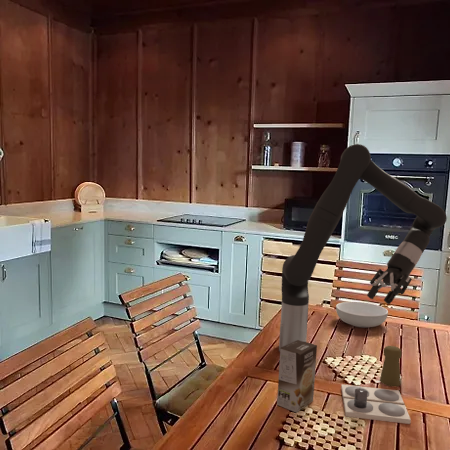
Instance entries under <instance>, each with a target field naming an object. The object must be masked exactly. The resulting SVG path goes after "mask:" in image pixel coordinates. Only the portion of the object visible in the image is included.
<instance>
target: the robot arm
mask: <svg viewBox="0 0 450 450" xmlns="http://www.w3.org/2000/svg"><path fill="white" fill-rule="evenodd" d="M360 179H361V180H362V181H365V182H366V183H367V184H369V185H370V186H371V187H373V188H374V189H375V190H377V191H378V192H379V193H380V194H381V195H383V196H384V197H385V198H386V199H388V201H390V202H391V203H392V204H394V206H396V207H398V208H399V209H401V211H402V212H404V213H407V214H414V215H415V216H416V217H415V219H414V220H413V222H412V225H411V227H410V230H409V232H408V233H407V234H406V236H405V237H404V239H403V240H402V242H401V243H400V244H399V245H398V246H397V248H396V249H395V251H394V253H393V254H392V255H391V257H390V258H389V260H388V261H387V264H386V266H387V269H386V270H385V271H384V270H382V269H381V268H379V269H377V271H376V273H375V274H374V276H373V277H372V279H371V280H370V281H369V283H370V285H371V288H370V289H369V291H368V292H367V297H368V298H369V299H371V300H373V299H374V298H375V296H376V295H377V294H378V292H379V291H380V290H381V289H382V288H385V287H389V286H390V290H388V293H387V294H386V296H385V297H384V299H383V301H384V302H385V303H386V304H387V305H390V304H391V303H393V300H394V299H395V298H396V296H399V295H403V294H404V293H405V292H406V290H407V289H408V287H409V285H410V283H411V282H412V281H413V279H412V278H411V276H410V274H411V273H412V272H413V270H414V269H415V267H416V265H417V264H418V263H419V261H420V260H421V256H422V255H423V253H424V251H426V249H427V247H428V246H429V243H430V241H431V239H430V236H431V234H432V233H433V232H434V230H436V229H439V228H441V227H443V226H445V224H446V223H447V217H448V216H447V214H446V211H445V210H444V209H443V208H442V207H441V206H440V205H438V204H436V203H434V201H430V200H429V199H427V198H425V197H422V196H420V195H419V194H418V193H416V192H415V190H414V189H412V188H410V187H409V186H408V185H406V184H405V183H403V182H402V181H401V180H399V179H398V178H396V177H394V176H392V175H391V174H388V172H385V171H384V170H383V169H382V168H381V167H379V166H378V165H377V164H376V163H375V162H374V161H373V160H372V158H371V152H370V150H369V148H368V147H366V145H364V144H359V143H356V144H355V143H354V144H352V145H349V146H348V147H346V148H345V149H344V151H343V152H342V153H341V155H340V162H339V165H338V166H337V169H336V172H335V174H334V176H333V178H332V180H331V182H330V183H329V184H328V186H327V187H326V188H325V189H324V191H323V193H322V195H320V198H319V199H318V201H317V202H316V204H315V206H314V207H313V210H312V212H311V214H310V215H309V218H308V220H307V224H306V228H305V231H304V235H303V238H302V241H301V244H300V246H299V247H298V249H297V251H296V252H295V254H294V255H290V256H289V257H287V258H286V259H284V261H283V264H282V267H281V268H282V269H281V270H282V271H281V272H282V273H281V311H280V312H281V313H280V324H279V339H278V340H279V341H278V342H279V343H278V345H279V346H278V352H280V348H281V347H283V346H285V345H288V344H290V343H292V342H294V341H297V340H300V341H303V342H307V337H308V336H307V335H308V320H309V319H308V318H309V303H310V302H309V301H310V295H309V281H310V280H311V278H312V276H313V274H314V272H315V268H316V265H317V263H318V260H319V258H320V256H321V254H322V251H323V250H324V248H325V247H326V245H327V243H328V242H329V240H330V237H331V236H332V234H333V232H334V231H335V229H336V227H337V225H338V224H339V222H340V219H341V218H342V216H343V214H344V212H345V209H346V207H347V205H348V202H349V199H350V197H351V194H352V192H353V190H354V188H355V186H356V185H357V183H358V181H359V180H360Z"/></svg>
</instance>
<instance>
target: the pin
mask: <svg viewBox="0 0 450 450" xmlns="http://www.w3.org/2000/svg"><path fill="white" fill-rule="evenodd" d="M367 394H368V392H367V391H366V390H365V389H361V388H358V389H355V398H354V406H355V407H357V408H362V409H363V408H366V407H367Z"/></svg>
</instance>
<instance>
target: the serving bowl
mask: <svg viewBox="0 0 450 450" xmlns="http://www.w3.org/2000/svg"><path fill="white" fill-rule="evenodd" d="M335 309H336V314H337V316H338V318H339V319H340V320H341V321H343V322H344V323H346V324H347V325H351V326H354V327H356V328H363V329H365V328H373V327H378V326H380V325H382V324H383V323H384V322H385V321H386V320H387V319H388V315H389V311H388V309H387V308H385V307H383V306H381V305H377V304H374V303H369V302H363V301H344V302H339V303H337V304H336V305H335Z"/></svg>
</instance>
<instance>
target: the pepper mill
mask: <svg viewBox="0 0 450 450" xmlns="http://www.w3.org/2000/svg"><path fill="white" fill-rule="evenodd" d="M402 353H403V352H402V350H401V348H400V347H399V346H398V347H397V346H395V345H387V346H385V347H384V349H383V356H384V360H383V364H382V369H381V373H380V377H379V382H380V381H381V382H380V383H381V384H383V385H385V386H388V387H394V388H395V387H399V386H401V367H400V365H401V364H400V359H401V357H402Z"/></svg>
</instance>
